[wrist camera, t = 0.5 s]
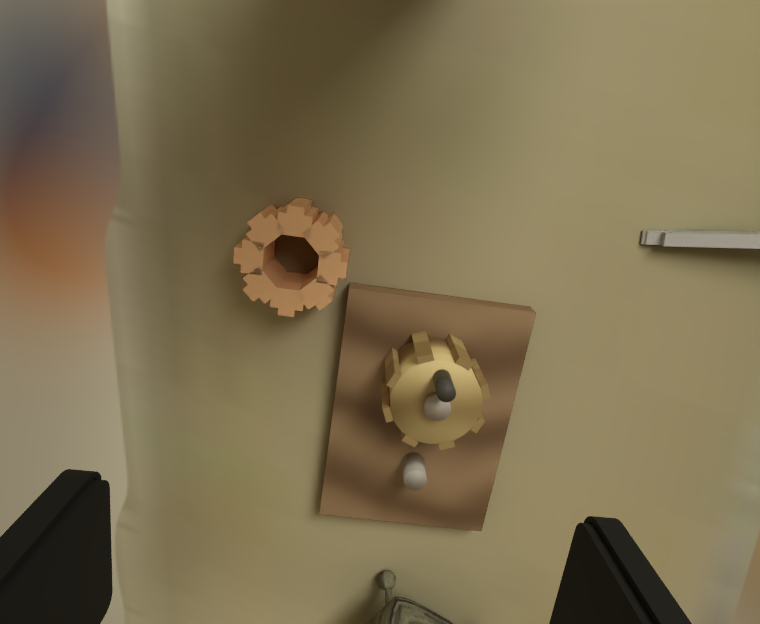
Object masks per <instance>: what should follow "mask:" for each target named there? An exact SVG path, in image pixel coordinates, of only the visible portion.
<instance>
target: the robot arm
mask: <svg viewBox="0 0 760 624" xmlns="http://www.w3.org/2000/svg"><path fill="white" fill-rule="evenodd" d="M111 597H112V559H111V522H110V487H109V483H108V481H106V480H101V475H100V474H99V473H98V472H93V471H82V470H71V469H68V470H65V471H64V472H62V473H61V474H60V475H59V476H58V477H57V478H56V479H55V480H54V482H52V484H51V485H50V486H49V487H48V488H47V489H46V490H45V491H44V492H43V493H42V494H41V495H40V496H39V497H38V498H37V499H36V500H35V501H34V502H33V503H32V505H31V506H30V507H29V508H28V509H27V510H26V511H25V512H24V513H23V514H22V515H21V516H20V517H19V518H18V519H17V520H16V521H15V522H14V524H13V525H11V526H10V528H9V529H8V530H7V531H6V532H5V533H4V534H3V535H2V536H1V537H0V624H100V623H101V621H102V620H103V618H104V616H105V614H106V612H107V610H108V608H109V605H110V601H111ZM549 624H692V623H691V622H690V621H689V619H688V618H687V616H686V615H685V613H684V612H683V610H682V609H681V608H680V606H679V605H678V603H677V602H676V600H675V599H674V598H673V596H672V595H671V593H670V592H669V590H668V589H667V587H666V586H665V585H664V583H663V582H662V580H661V579H660V577H659V576H658V574H657V573H656V572H655V570H654V569H653V567H652V566H651V564H650V563H649V561H648V560H647V559H646V557H645V556H644V554H643V553H642V551H641V550H640V548H639V547H638V546H637V544H636V543H635V541H634V540H633V538H632V537H631V536H630V534H629V533H628V531H627V530H626V528H625V527H624V525H623V524H622V523H621V522H620V521H619V520H618V519H615V518H604V517H593V516H589V517H587V518H586V519H585V521H584V523H579V524H578V525H577V526H576V529H575V532H574V536H573V540H572V543H571V547H570V551H569V554H568V558H567V561H566V565H565V569H564V572H563V576H562V580H561V583H560V587H559V590H558V594H557V598H556V601H555V605H554V609H553V612H552V616H551V620H550V623H549Z"/></svg>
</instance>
